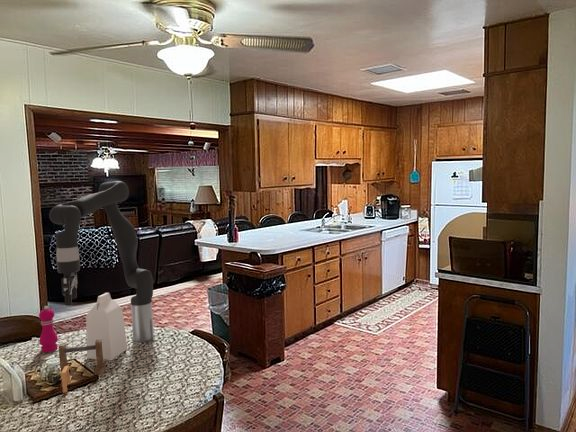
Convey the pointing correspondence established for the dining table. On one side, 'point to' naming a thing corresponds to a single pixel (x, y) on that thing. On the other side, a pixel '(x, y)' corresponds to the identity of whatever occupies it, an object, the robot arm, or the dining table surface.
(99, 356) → the hook frame
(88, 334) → the milk
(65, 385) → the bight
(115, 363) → the dining table surface
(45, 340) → the pepper mill
